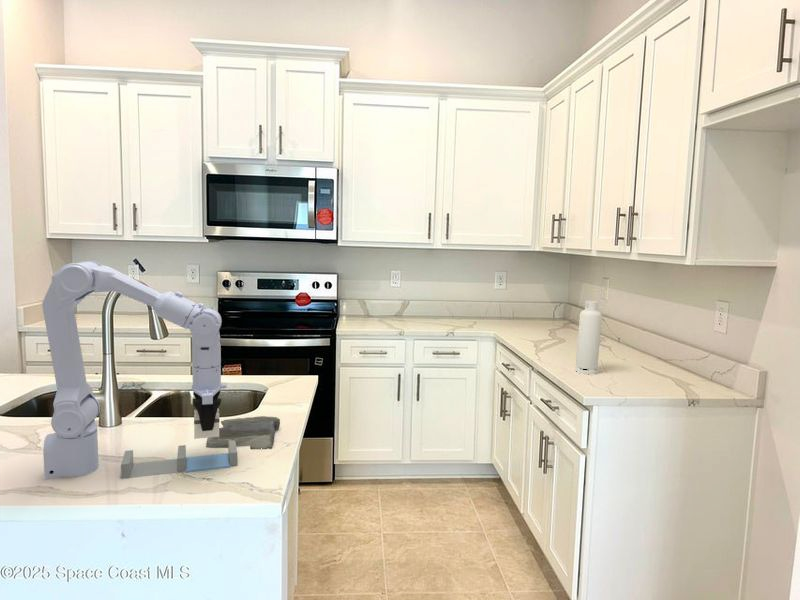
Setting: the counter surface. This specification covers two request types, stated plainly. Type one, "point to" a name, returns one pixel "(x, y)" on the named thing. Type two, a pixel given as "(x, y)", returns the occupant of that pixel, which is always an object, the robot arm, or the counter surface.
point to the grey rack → (178, 463)
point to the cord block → (205, 434)
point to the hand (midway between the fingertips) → (207, 426)
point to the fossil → (247, 432)
